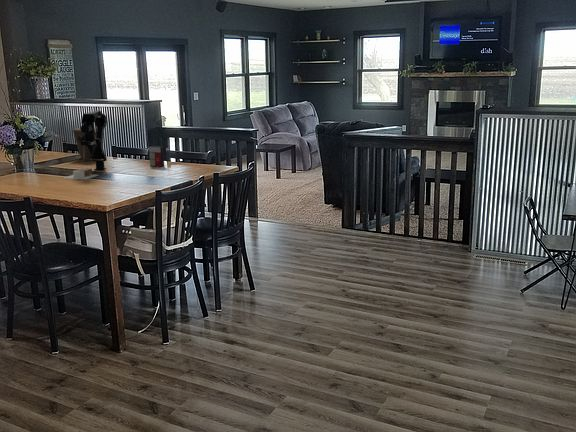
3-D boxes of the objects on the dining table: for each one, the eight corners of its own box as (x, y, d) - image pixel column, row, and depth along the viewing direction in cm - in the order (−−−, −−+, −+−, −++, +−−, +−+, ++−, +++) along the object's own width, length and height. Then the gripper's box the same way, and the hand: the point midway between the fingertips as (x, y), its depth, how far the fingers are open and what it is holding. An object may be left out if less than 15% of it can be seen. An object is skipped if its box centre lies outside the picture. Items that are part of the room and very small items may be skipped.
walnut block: (82, 168, 400) (72, 171, 389) (91, 168, 399) (82, 171, 388) (83, 174, 401) (73, 177, 390) (92, 174, 400) (83, 177, 389)
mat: (75, 174, 402) (75, 174, 402) (99, 175, 398) (99, 174, 398) (61, 178, 386) (61, 178, 386) (86, 179, 383) (86, 179, 383)
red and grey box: (149, 166, 436) (148, 146, 432) (152, 165, 439) (151, 145, 436) (161, 167, 431) (160, 147, 428) (164, 166, 435) (163, 146, 431)
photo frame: (85, 158, 482) (82, 127, 476) (103, 159, 470) (100, 128, 464) (70, 160, 469) (67, 128, 463) (88, 162, 458) (85, 130, 452)
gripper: (86, 130, 412) (88, 152, 416) (72, 132, 394) (74, 155, 398) (101, 130, 410) (102, 152, 413) (87, 133, 392) (89, 156, 396)
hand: (92, 154), depth 405 cm, fingers closed
